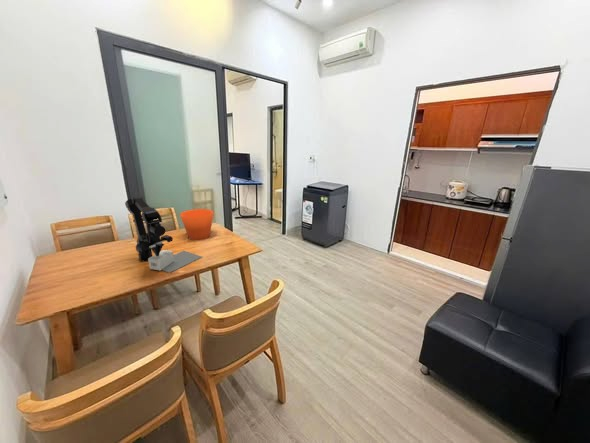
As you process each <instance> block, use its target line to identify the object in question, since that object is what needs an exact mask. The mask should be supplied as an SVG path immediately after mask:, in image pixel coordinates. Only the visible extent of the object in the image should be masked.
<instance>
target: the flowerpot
mask: <svg viewBox="0 0 590 443" xmlns="http://www.w3.org/2000/svg"><path fill="white" fill-rule="evenodd" d="M214 215H215V214H214V211H213V210H212V209H206V208H194V209H188V210H185V211H182V212H180V213H179V216H180V219H181V221H182V224H183V226H184V230H185V231H186V234H187V237H188V239H189V240H192V241H201V240H207V239H209V238H210V236H211V231H212V226H213V225H212V224H213V221H214V220H213V219H214Z"/></svg>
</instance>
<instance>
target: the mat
mask: <svg viewBox="0 0 590 443" xmlns="http://www.w3.org/2000/svg"><path fill="white" fill-rule="evenodd" d="M173 255H174V262H172V263H171V264H169V265H168V266H166V267H165V268H163V269H162V270H161V271H163V272H164V273H168V274H171V273H173V272H176V271H178V270H180V269H182V268H183V267H186V266H187V265H190V264H193V262H195V261H198V260H200V259H202V258H203V256H201V255H198V254H195V253H192V252H190V251H186V250H182V251H180V252H178V253H175V254H173Z"/></svg>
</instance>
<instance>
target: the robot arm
mask: <svg viewBox="0 0 590 443" xmlns="http://www.w3.org/2000/svg"><path fill="white" fill-rule="evenodd" d="M124 205H125V207H126V209H127V211H128V212H129V213H130V214H131V215H132V218H133V222H134V226H135V229H136V232H137V239H136V245H135V250H136V252H137V253H138V260H140V261H142V262H144V263H145V262H147V261H148V258H150V257H152V256H153V254H154V255H156V256H159V253H160V251H162V250H163V249H162V248H163V246H165V244H164V242H167V243H170V242H173V236H171V235H169V234H168V235H167V234H166V228H165V227H164V226H163V225H161V223H162V222H163V218H162V216H161V214H160V212H159V211H158V210H157V209H155V208H154V207H151V206H149V205H148V204H147V202H146V201H145V200H144V198H143V196H140V195H139V196H133V197H131V198H130V199H127V200H125V202H124ZM145 225H146V226H145Z"/></svg>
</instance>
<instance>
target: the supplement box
mask: <svg viewBox="0 0 590 443" xmlns="http://www.w3.org/2000/svg"><path fill="white" fill-rule="evenodd" d="M174 255H175V254H174V250H173V251H172V250H166V249H161V251H160V253H159V256H156V255H155V254H154V255H153V254H152V257H150V258H148V260H147V261H148V265H149V270H155V271H163V270H162V269H163V268H165V267H166V266H168V265H169V264H171V263H172V262H174Z"/></svg>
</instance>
